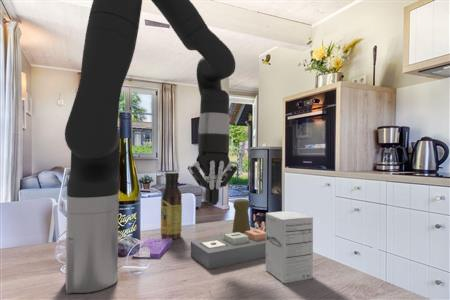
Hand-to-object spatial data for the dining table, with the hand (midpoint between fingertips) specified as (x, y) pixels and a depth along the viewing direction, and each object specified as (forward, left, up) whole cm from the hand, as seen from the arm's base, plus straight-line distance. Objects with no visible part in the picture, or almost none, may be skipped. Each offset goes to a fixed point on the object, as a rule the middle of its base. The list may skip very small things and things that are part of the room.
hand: (212, 204), depth 70 cm
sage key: (+7, 0, -11) cm, 12 cm away
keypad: (+7, 0, -13) cm, 15 cm away
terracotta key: (+13, 0, -11) cm, 17 cm away
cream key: (0, 0, -12) cm, 12 cm away
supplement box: (+10, -16, -13) cm, 23 cm away
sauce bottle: (-2, +23, -13) cm, 26 cm away
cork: (+19, +16, -13) cm, 28 cm away
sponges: (-10, +14, -14) cm, 22 cm away
